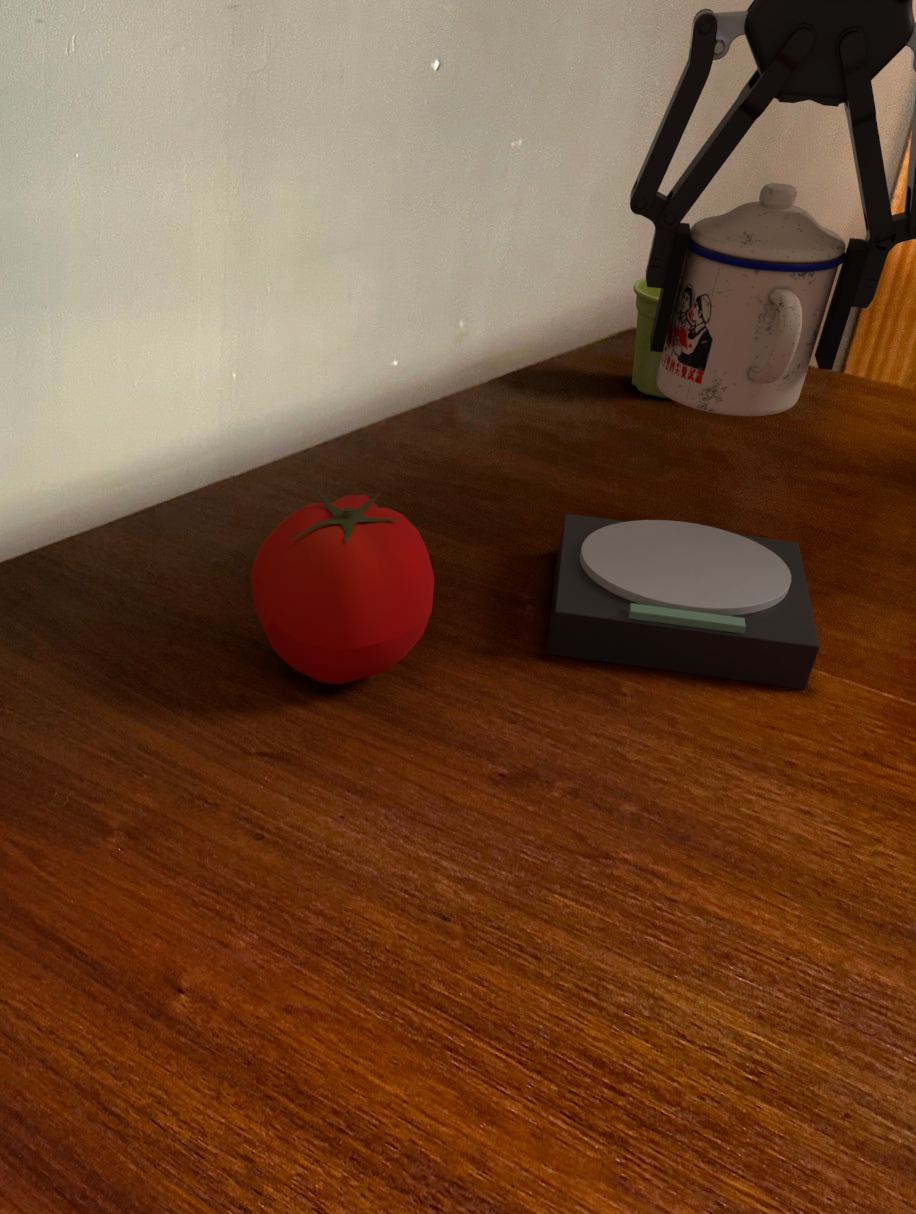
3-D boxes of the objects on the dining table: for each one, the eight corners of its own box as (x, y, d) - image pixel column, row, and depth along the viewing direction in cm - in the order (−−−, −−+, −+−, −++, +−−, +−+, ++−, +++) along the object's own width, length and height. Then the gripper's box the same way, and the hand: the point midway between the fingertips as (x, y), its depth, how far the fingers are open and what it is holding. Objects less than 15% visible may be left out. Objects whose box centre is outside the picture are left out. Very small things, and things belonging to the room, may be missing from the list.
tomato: (432, 628, 93) (455, 476, 87) (411, 724, 84) (435, 561, 77) (266, 606, 95) (276, 455, 89) (226, 698, 86) (235, 536, 79)
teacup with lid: (635, 368, 92) (680, 166, 84) (774, 372, 92) (831, 171, 85) (685, 435, 83) (741, 215, 75) (839, 439, 83) (910, 220, 76)
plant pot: (596, 391, 131) (618, 290, 125) (634, 365, 137) (656, 268, 131) (695, 414, 127) (721, 311, 121) (729, 386, 133) (756, 287, 127)
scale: (785, 582, 101) (801, 533, 98) (805, 690, 89) (823, 637, 86) (557, 553, 103) (567, 505, 101) (546, 654, 91) (557, 602, 89)
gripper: (642, -121, 70) (553, 353, 85) (1116, -95, 67) (938, 394, 81) (643, -128, 76) (559, 317, 90) (1079, -105, 72) (919, 354, 87)
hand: (738, 353), depth 86 cm, fingers closed on teacup with lid, 9 cm apart
